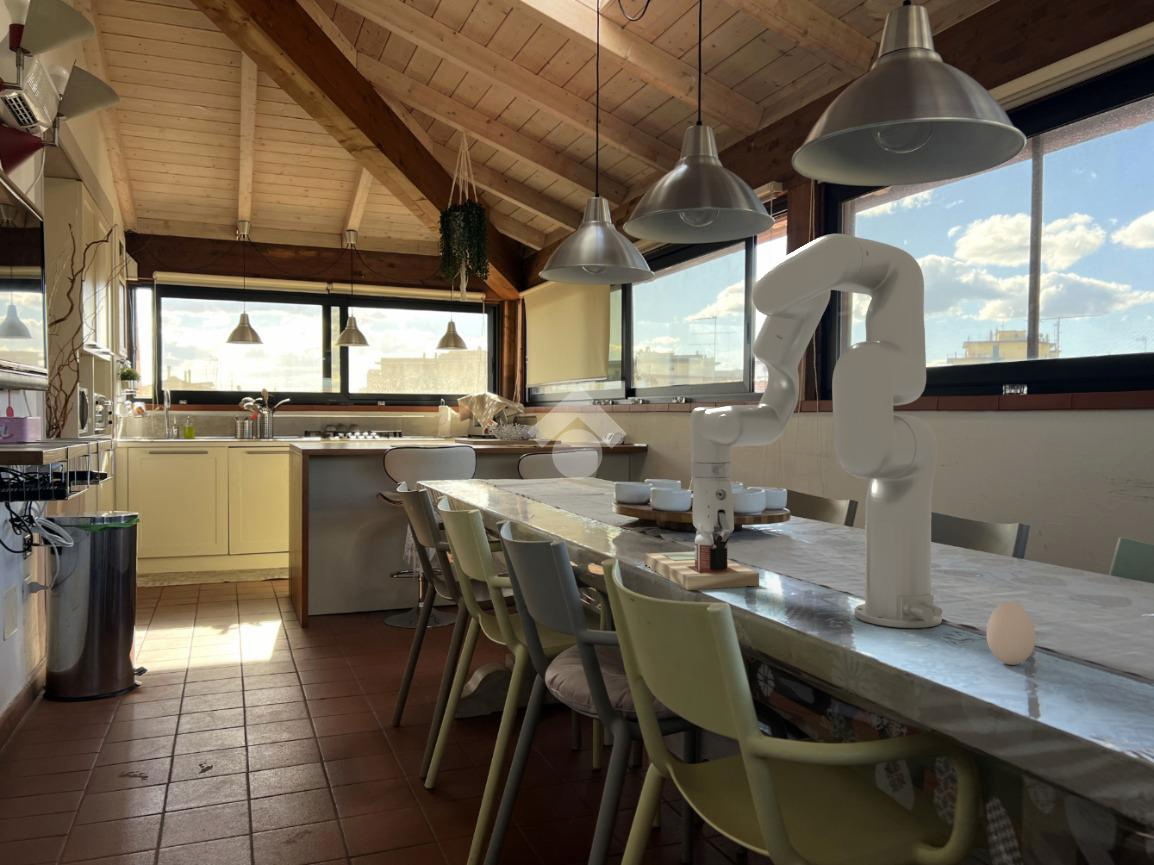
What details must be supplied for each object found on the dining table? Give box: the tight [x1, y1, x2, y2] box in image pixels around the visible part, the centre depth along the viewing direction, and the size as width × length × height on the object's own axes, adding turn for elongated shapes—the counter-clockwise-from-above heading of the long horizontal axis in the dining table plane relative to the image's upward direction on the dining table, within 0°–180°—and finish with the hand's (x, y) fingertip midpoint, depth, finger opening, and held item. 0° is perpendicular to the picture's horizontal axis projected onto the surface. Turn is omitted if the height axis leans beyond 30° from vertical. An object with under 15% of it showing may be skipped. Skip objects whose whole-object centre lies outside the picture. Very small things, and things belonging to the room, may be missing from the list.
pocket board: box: [643, 550, 760, 591], centre depth 165 cm, size 26×14×3 cm, turn 13°
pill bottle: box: [694, 524, 729, 573], centre depth 158 cm, size 6×6×11 cm
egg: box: [986, 601, 1036, 666], centre depth 106 cm, size 6×6×8 cm
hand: (711, 565), depth 158 cm, fingers closed on pill bottle, 6 cm apart
